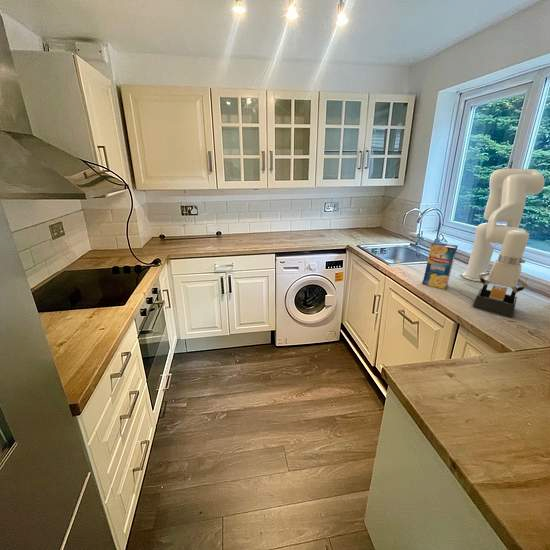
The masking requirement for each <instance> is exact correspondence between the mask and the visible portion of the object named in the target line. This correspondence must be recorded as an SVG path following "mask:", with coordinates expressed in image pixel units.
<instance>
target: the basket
mask: <svg viewBox="0 0 550 550" xmlns="http://www.w3.org/2000/svg"><path fill="white" fill-rule="evenodd" d="M482 288H483V287H482ZM482 288H480V289H479V290H478V293H477V294H476V297H475V301H474V303H473V308H475V309H479V310H482V311H486V312H489V313H493V314H497V315H501V316H505V317H507V318H512V316H513V313H514V310H515V308H516V304H517V299H518V296H517V295H515V297H514V299H512V300H511V301H510V300H509V299H510V296H511V294H507V293H506V294H505V297H504V300H503V301H499V300H495V299H491V298H489V296H490V293H491V290H492V289H491V290H490V289H486V292H485V294H483V291H482Z"/></svg>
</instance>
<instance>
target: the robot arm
mask: <svg viewBox="0 0 550 550" xmlns="http://www.w3.org/2000/svg"><path fill="white" fill-rule="evenodd" d="M544 188H545V177H544V175H543V174H542V173H540V171H538V170H536V169H532V168H498V169H495V170H494V171H492V173H491V175H490V178H489V195H488V198H487V202H486V205H485V209H484V213H483V218H484V219H485V220H486V221H487V222H482V223H480V224H478V225H477V226H476V228H475V230H474V231H475V232H474V240H473V245H472V249H471V252H470V257H469V259H468V264H467V266H466V271H464V272H462V273H461V276H462V277H463V278H464V279H466V280H469V281H473V282H480V283H481V284H482V285H483V286H482V291H483V294H485V292H486V290H488V289H487V288H488V286H489V284H492V285H497V286H501V287H506V288H511V293H510V295H511V296H510V299H509V300H510V301H511V300H512V299H514V297H515V296H517V295H516V294H517V293H519V292H521V291H523V290H524V289H526V288H527V287H528V286H529V283H528V282H526V281H525V280H522V279H521V278H520V275H521V271H522V264H525V263H526V259H524V258H523V255H524V252H525V250H526V247H527V244H528V242H529V239H530V234H529V233H528V232H527V230H526V229H524V228H522V227H520V223H521V221H522V219H523V216H524V215H523V214H524V208H525V207H526V200H527V195H539V194H540V193H542V191H543V190H544ZM498 222H499V223H498ZM504 223H506V224H504ZM492 244H500V245H501V248H500V251H499V255H498V258H497V259H496V260H495V261H494V262H493V264H492V266H491V268H490V271H488V269H489V266H490V264H491V260H492V256H493V253H494V247H493V245H492ZM487 276H488V277H487ZM518 283H519V284H520V285H521V286H518V287H517V285H518Z"/></svg>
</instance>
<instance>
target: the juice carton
mask: <svg viewBox="0 0 550 550" xmlns="http://www.w3.org/2000/svg"><path fill="white" fill-rule="evenodd" d="M492 285H493V286H492V287H491V293H490V296H489V298H491V299H495V300H499V301H503V300H504V297H505V294H507V291H508V287H507V286H502V285H498V284H492Z"/></svg>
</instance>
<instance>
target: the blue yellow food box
mask: <svg viewBox="0 0 550 550" xmlns="http://www.w3.org/2000/svg"><path fill="white" fill-rule="evenodd" d="M458 247H459V245H456V244H450V243H444V242H437V241H433V242H432V243H431V244H430V249H429V254H428V259H427V262H426V267H425V271H424V276H423V279H422V284H423V285H426V286H430V287H434V288H437V289H441V290H442V289H443V290H446V288H447V287H448V285H449V281H450V278H451V273H452V270H453V266H454V262H455V257H456V254H457V251H458V250H457V249H458Z"/></svg>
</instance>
